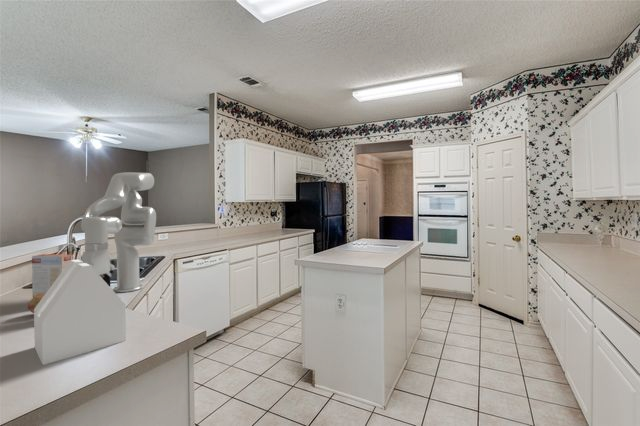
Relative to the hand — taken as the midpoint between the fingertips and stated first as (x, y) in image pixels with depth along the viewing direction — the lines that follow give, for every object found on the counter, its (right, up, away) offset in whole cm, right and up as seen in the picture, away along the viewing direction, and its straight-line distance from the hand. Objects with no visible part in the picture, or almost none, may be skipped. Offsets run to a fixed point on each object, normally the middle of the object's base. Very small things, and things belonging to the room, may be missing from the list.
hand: (96, 289), depth 123 cm
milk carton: (+18, -9, -31) cm, 37 cm away
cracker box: (-25, -8, +9) cm, 28 cm away
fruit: (-17, -9, -5) cm, 20 cm away
